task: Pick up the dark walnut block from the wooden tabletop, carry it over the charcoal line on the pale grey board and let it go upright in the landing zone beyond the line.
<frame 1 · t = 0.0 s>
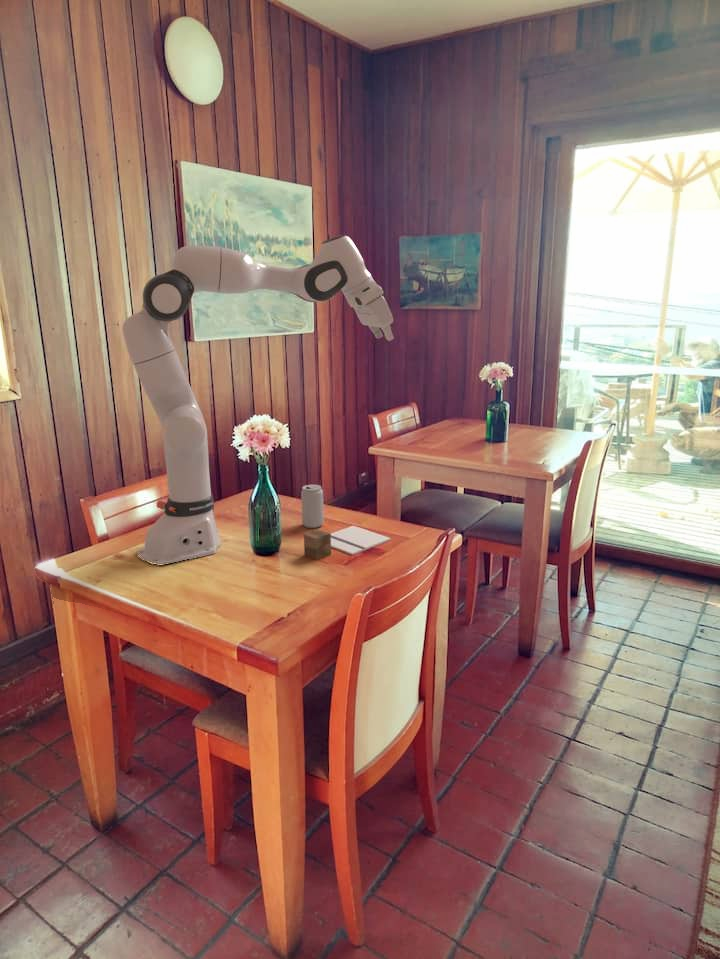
hand: (385, 338, 182), 54 cm above the table, fingers open, 8 cm apart
beverage can: (313, 525, 196), on the table
walnut block: (317, 554, 175), on the table
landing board: (352, 540, 184), on the table
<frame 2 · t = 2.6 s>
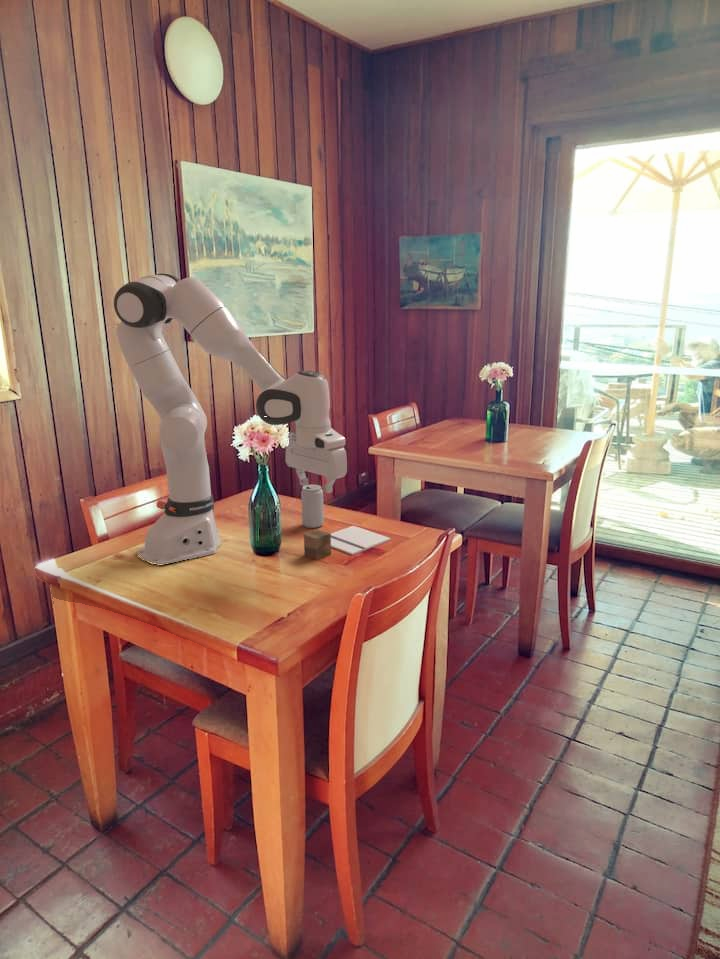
hand: (315, 488, 170), 18 cm above the table, fingers open, 8 cm apart
nothing on the table moved.
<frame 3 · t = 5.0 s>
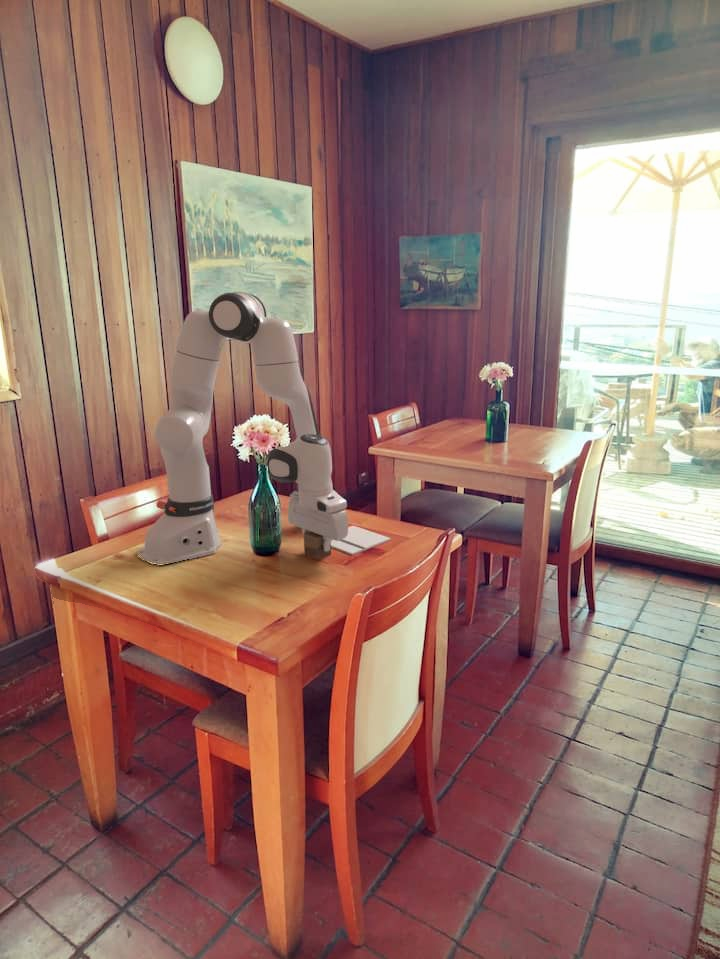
hand: (317, 547, 174), 2 cm above the table, fingers closed on walnut block, 5 cm apart
walnut block: (317, 554, 175), on the table, touching gripper
everything else where it was.
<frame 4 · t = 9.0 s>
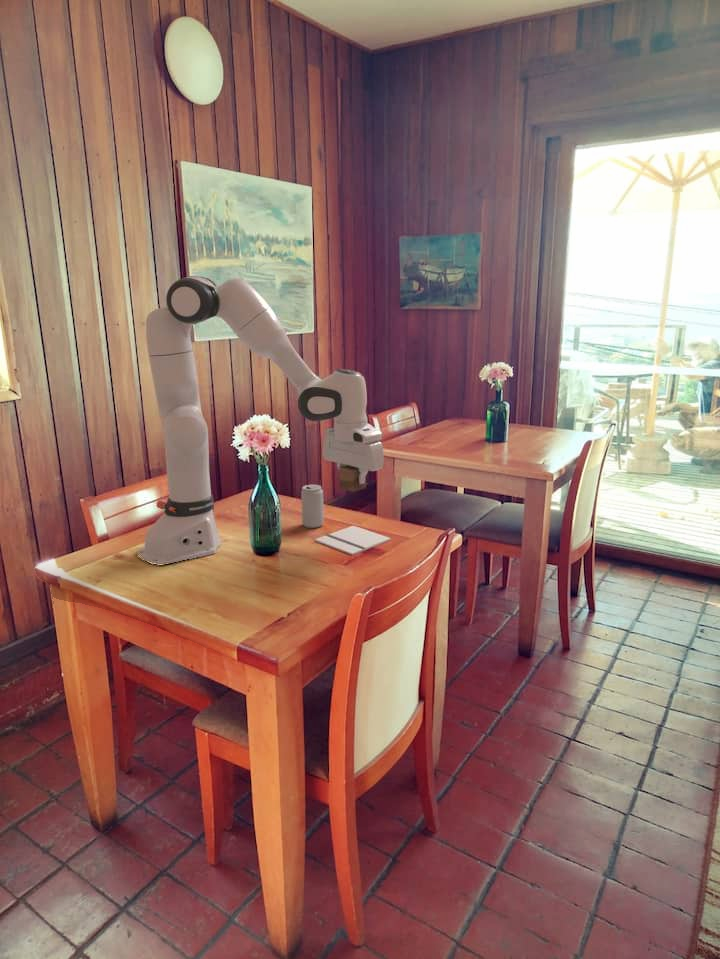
hand: (352, 480, 178), 18 cm above the table, fingers closed on walnut block, 5 cm apart
walnut block: (352, 488, 179), point 16 cm above the table, touching gripper
everything else where it was.
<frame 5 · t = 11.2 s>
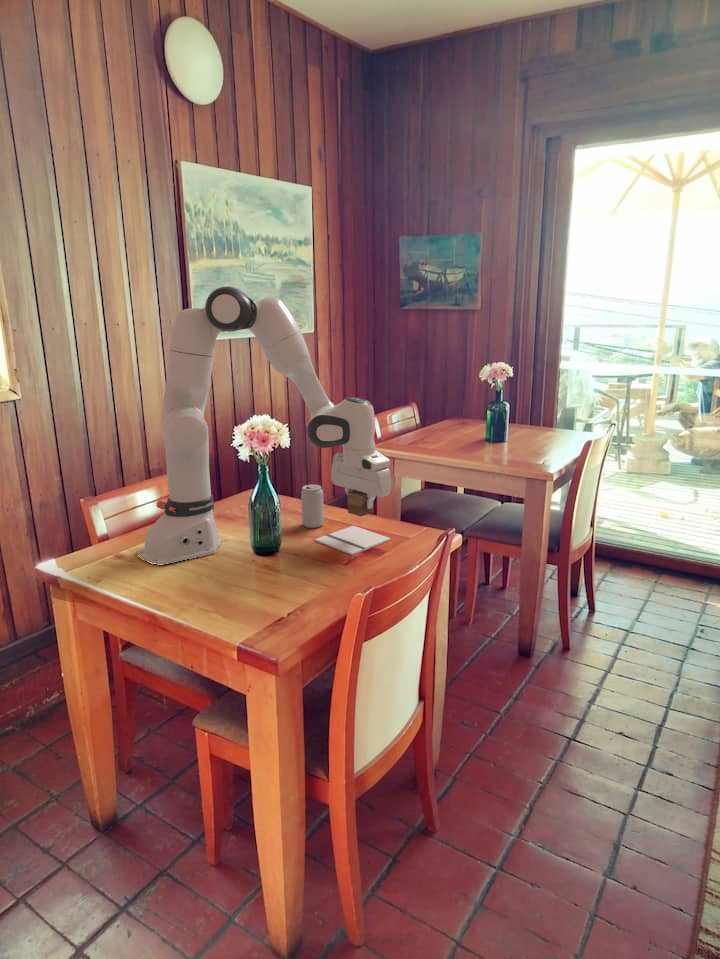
hand: (360, 505, 183), 10 cm above the table, fingers closed on walnut block, 5 cm apart
walnut block: (360, 512, 183), point 8 cm above the table, touching gripper
everything else where it was.
when the fingers open (4 cm above the table, at t = 13.1 s): walnut block drops 1 cm, resting on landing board.
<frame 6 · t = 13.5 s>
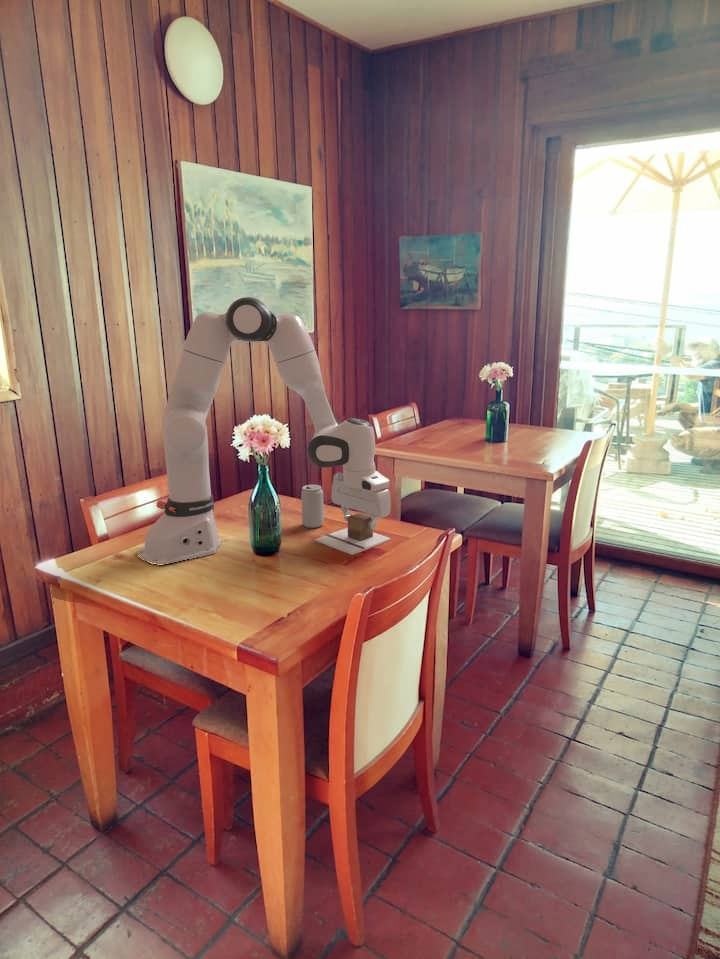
hand: (360, 524, 184), 4 cm above the table, fingers open, 8 cm apart
walnut block: (360, 536, 185), resting on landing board
everything else where it was.
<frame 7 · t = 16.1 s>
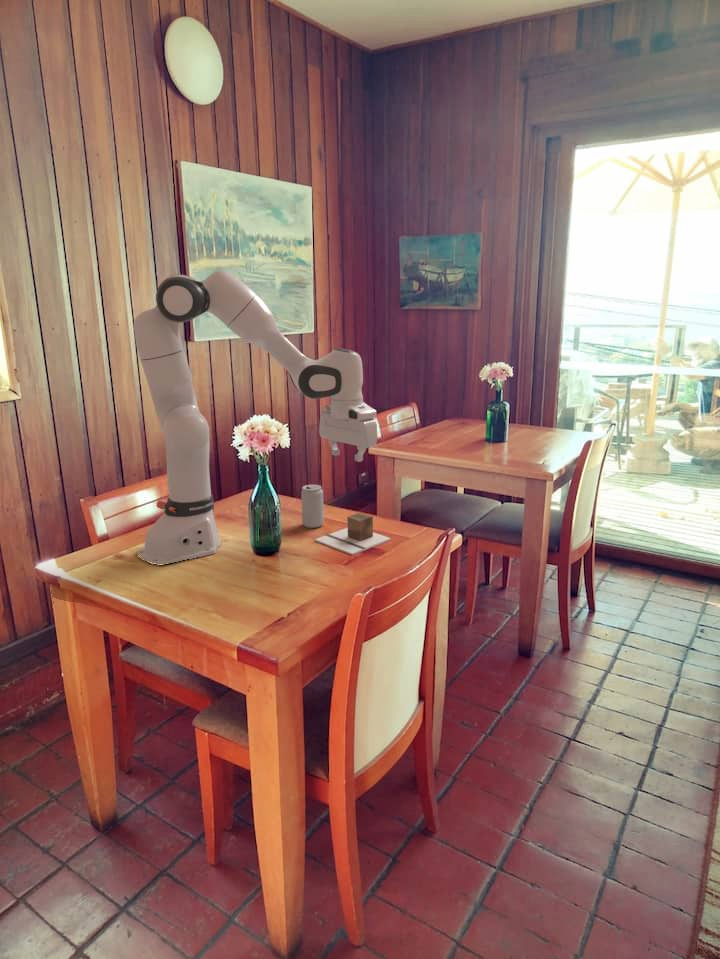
hand: (347, 458, 184), 22 cm above the table, fingers open, 8 cm apart
nothing on the table moved.
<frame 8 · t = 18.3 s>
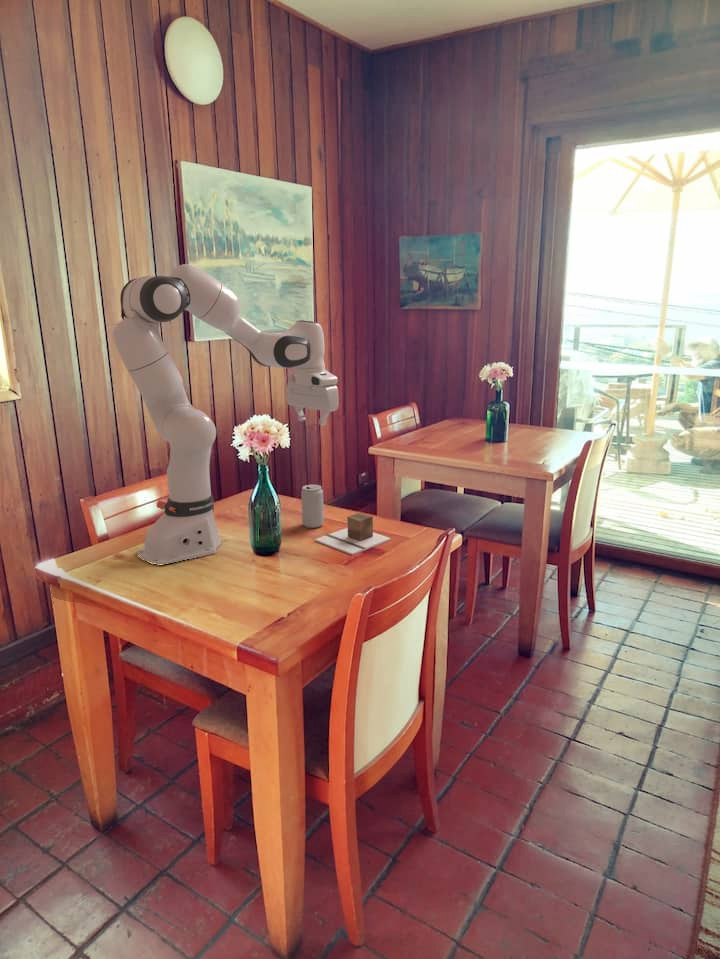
hand: (312, 422, 198), 29 cm above the table, fingers open, 8 cm apart
nothing on the table moved.
at the end: walnut block inside the target area (1.3 cm from its centre), point 0.5 cm above the table; walnut block tilted 0°; the gripper is holding nothing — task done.
